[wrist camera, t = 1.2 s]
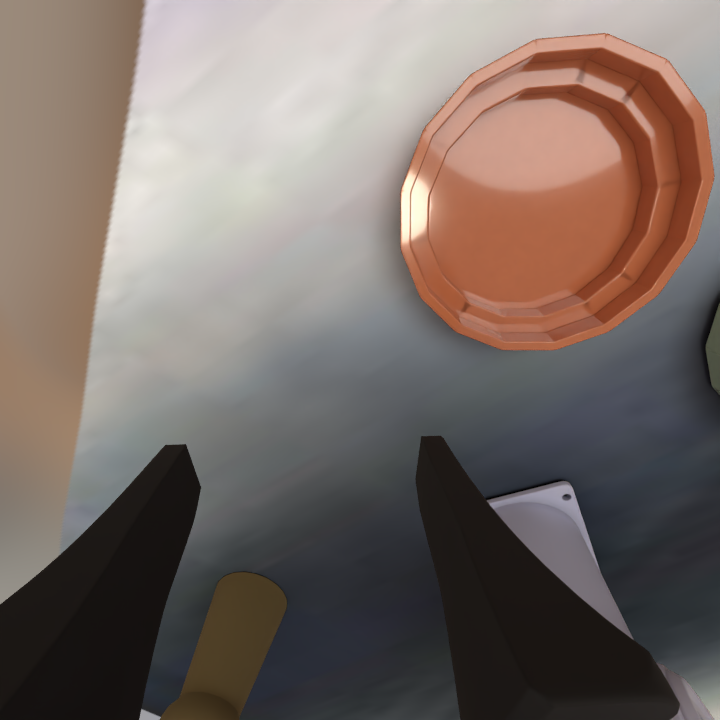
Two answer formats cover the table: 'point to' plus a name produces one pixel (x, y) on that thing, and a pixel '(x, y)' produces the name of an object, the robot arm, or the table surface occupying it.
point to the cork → (230, 648)
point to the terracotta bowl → (556, 192)
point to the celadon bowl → (714, 352)
